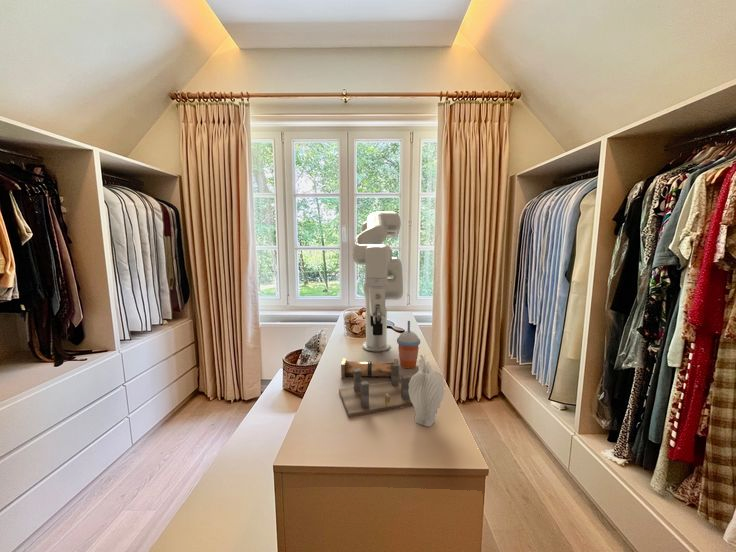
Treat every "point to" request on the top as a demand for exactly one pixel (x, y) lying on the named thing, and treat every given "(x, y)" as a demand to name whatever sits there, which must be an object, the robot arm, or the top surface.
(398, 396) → the collar board
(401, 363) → the cup with straw
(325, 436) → the top surface
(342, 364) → the copper tube
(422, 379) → the shell sculpture
